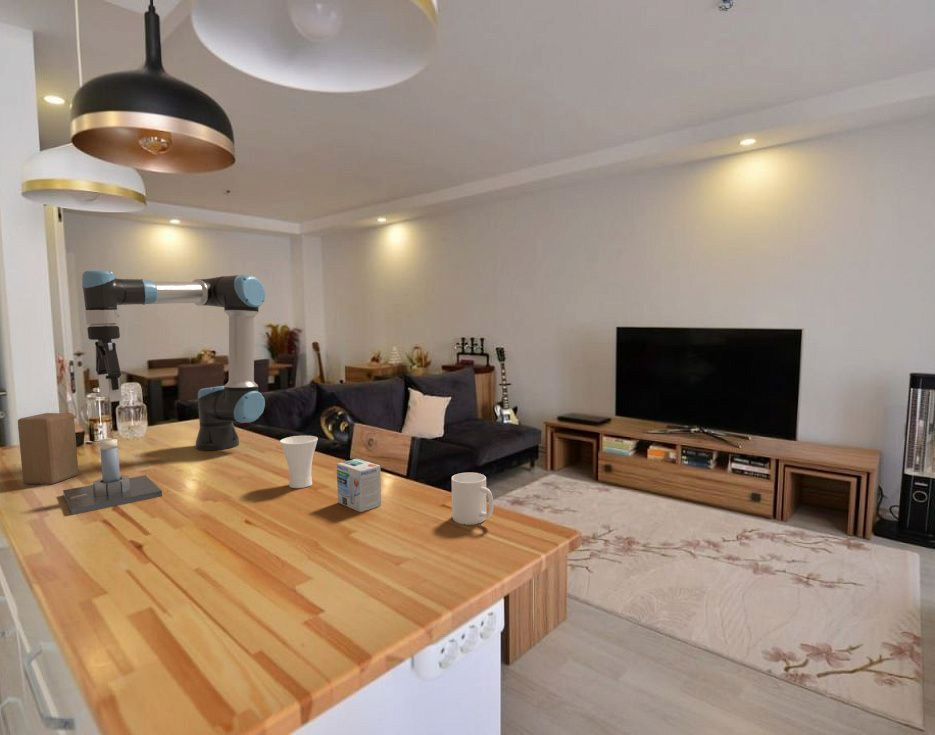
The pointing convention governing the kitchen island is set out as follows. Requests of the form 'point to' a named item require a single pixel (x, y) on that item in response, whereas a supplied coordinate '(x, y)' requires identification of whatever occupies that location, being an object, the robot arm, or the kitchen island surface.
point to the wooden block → (48, 448)
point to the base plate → (110, 493)
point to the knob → (109, 460)
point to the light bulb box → (359, 484)
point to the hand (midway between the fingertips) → (110, 398)
